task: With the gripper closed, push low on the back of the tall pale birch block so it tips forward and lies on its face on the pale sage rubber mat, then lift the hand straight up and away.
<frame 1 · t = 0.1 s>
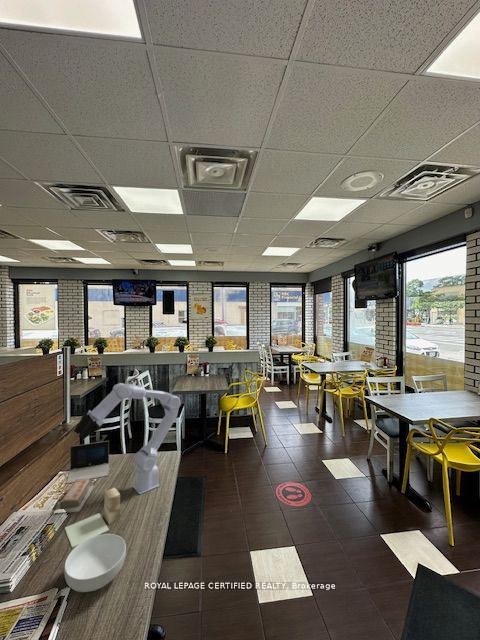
hand: (78, 435, 112), 32 cm above the table, tool tilted 50°, fingers open, 7 cm apart
cereal bowl: (96, 577, 86), on the table
packaged product: (75, 500, 123), on the table
birch block: (112, 518, 111), on the table
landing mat: (86, 529, 105), on the table
laptop: (88, 474, 143), on the table
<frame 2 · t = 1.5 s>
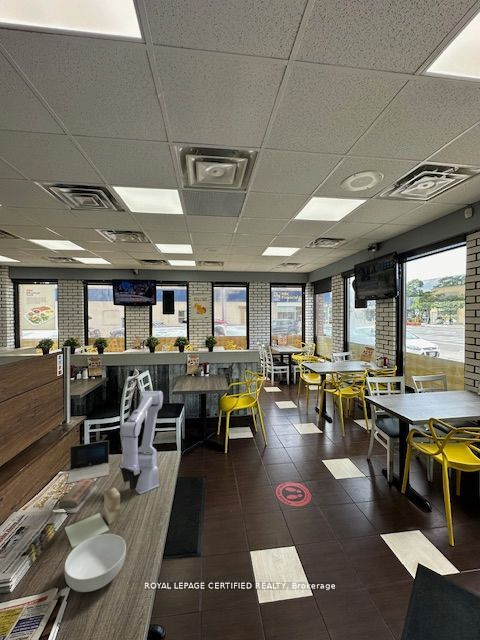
hand: (130, 484, 116), 10 cm above the table, tool pointing down, fingers open, 6 cm apart
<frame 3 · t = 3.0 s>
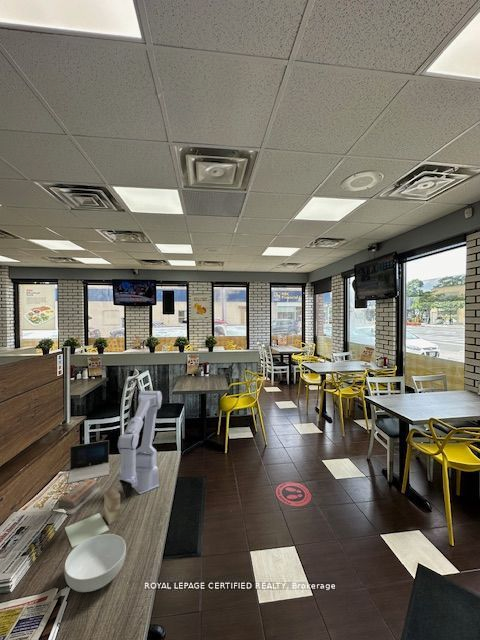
hand: (127, 496, 115), 6 cm above the table, tool pointing down, fingers closed
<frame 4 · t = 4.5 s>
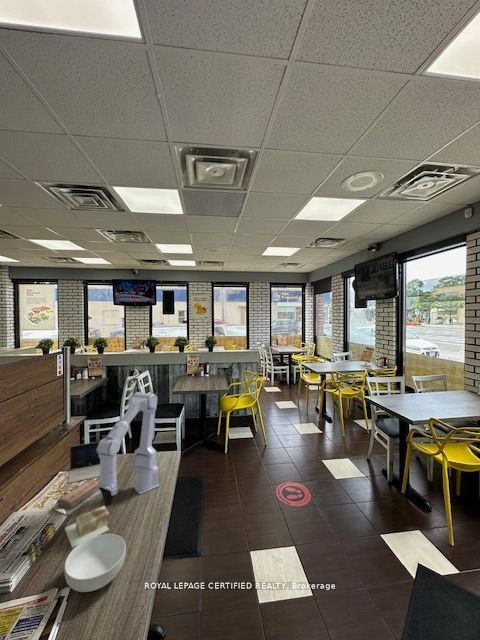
hand: (108, 504, 110), 6 cm above the table, tool pointing down, fingers closed
birch block: (106, 514, 110), point 2 cm above the table, tilted 90°, touching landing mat
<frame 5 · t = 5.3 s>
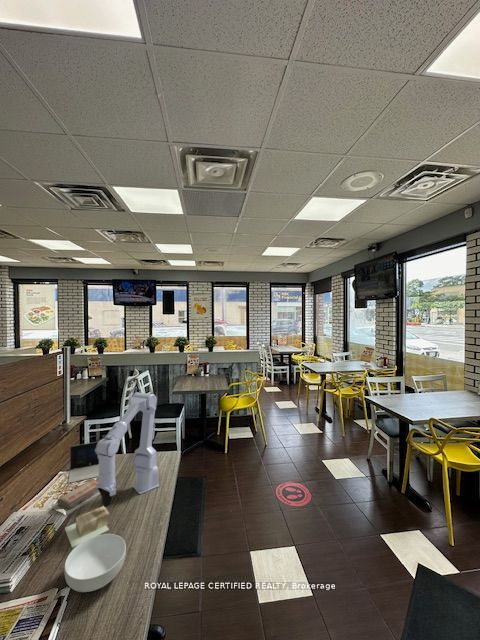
hand: (106, 505, 110), 6 cm above the table, tool pointing down, fingers closed
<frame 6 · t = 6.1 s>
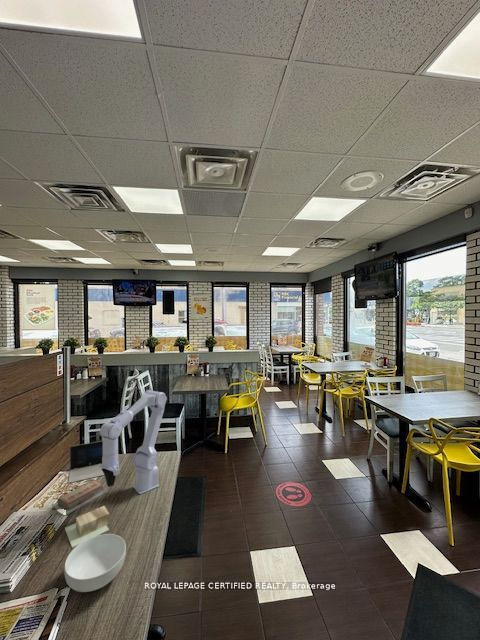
hand: (110, 485, 115), 10 cm above the table, tool pointing down, fingers closed
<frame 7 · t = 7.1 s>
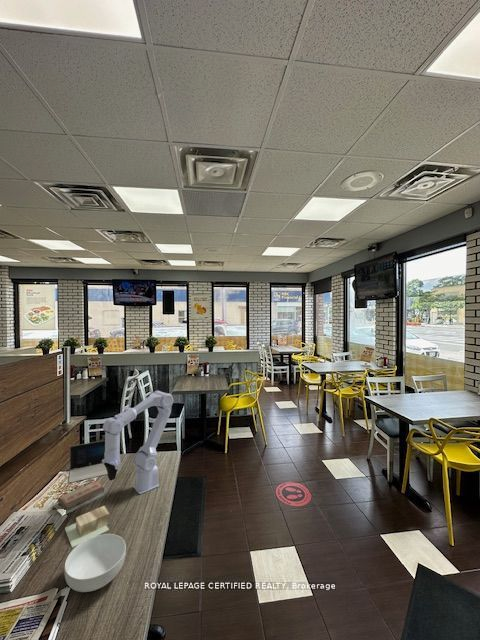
hand: (112, 479, 119), 10 cm above the table, tool pointing down, fingers closed
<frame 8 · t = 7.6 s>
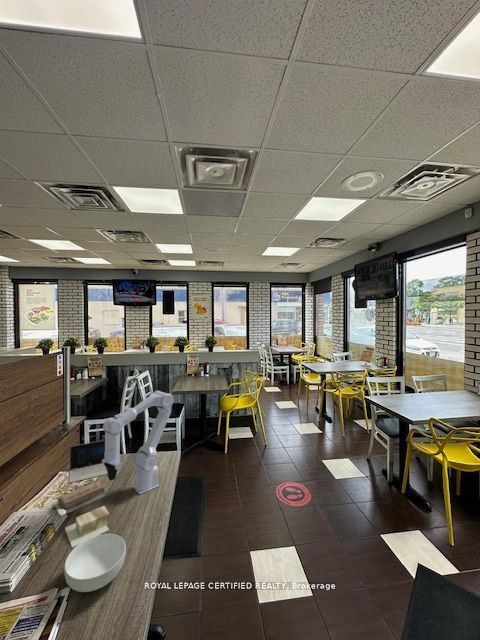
hand: (112, 479, 119), 10 cm above the table, tool pointing down, fingers closed
at the end: birch block tilted 90°; birch block inside the target area (5.6 cm from its centre), point 2.3 cm above the table; birch block touching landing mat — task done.
